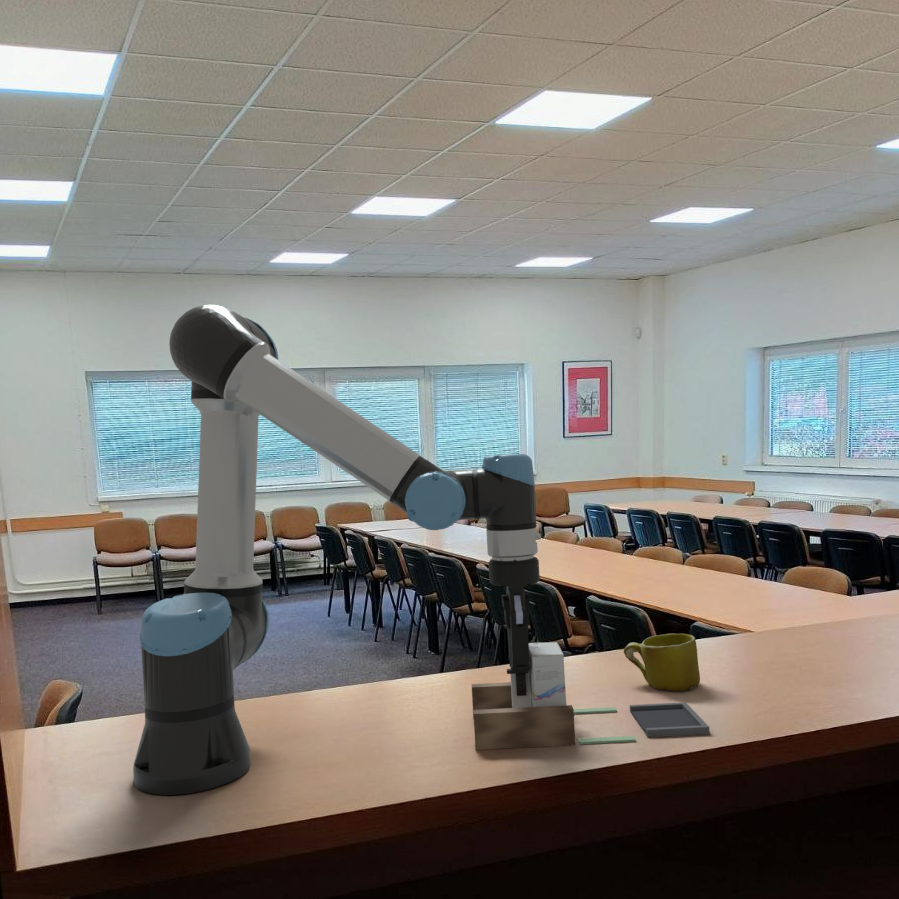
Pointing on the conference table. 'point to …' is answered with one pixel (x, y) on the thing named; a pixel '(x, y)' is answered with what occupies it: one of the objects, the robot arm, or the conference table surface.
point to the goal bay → (602, 739)
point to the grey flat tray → (668, 719)
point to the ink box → (546, 675)
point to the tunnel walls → (517, 721)
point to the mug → (667, 661)
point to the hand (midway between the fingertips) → (521, 714)
